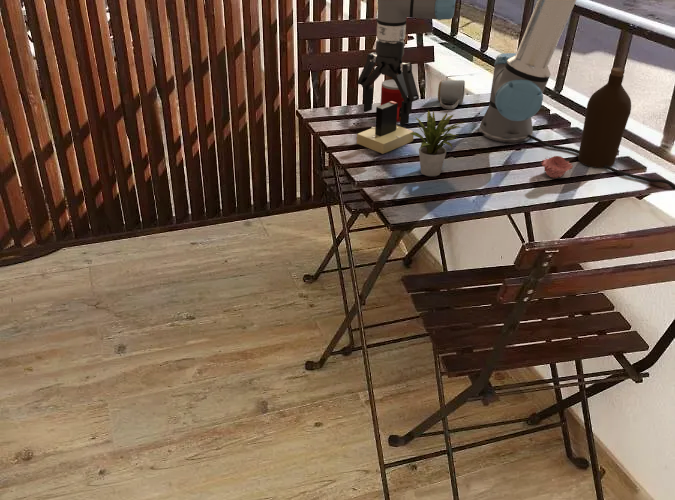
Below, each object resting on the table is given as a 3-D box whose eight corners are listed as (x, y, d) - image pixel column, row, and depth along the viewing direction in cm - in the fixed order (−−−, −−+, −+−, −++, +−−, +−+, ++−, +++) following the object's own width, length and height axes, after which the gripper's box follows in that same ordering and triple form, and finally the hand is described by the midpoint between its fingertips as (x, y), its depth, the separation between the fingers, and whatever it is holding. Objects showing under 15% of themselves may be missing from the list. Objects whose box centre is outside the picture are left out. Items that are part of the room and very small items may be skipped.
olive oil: (587, 170, 170) (610, 76, 157) (568, 154, 179) (587, 64, 166) (624, 167, 172) (649, 74, 159) (603, 151, 181) (625, 62, 167)
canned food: (404, 123, 197) (406, 88, 191) (378, 121, 198) (379, 86, 193) (407, 114, 204) (409, 80, 198) (381, 112, 205) (383, 78, 199)
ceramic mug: (438, 97, 217) (441, 75, 213) (463, 100, 215) (466, 77, 211) (435, 109, 208) (437, 86, 204) (460, 111, 207) (463, 88, 202)
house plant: (445, 191, 160) (452, 128, 151) (394, 178, 165) (398, 117, 156) (465, 169, 170) (473, 110, 161) (417, 158, 176) (421, 100, 167)
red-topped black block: (380, 136, 181) (382, 108, 176) (375, 134, 182) (376, 106, 178) (396, 130, 185) (397, 102, 180) (390, 128, 186) (391, 100, 181)
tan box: (383, 154, 178) (384, 143, 176) (355, 143, 184) (356, 132, 182) (414, 141, 186) (414, 131, 184) (386, 131, 192) (386, 121, 190)
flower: (552, 167, 172) (556, 148, 169) (576, 178, 166) (581, 158, 163) (531, 174, 168) (535, 154, 165) (556, 186, 162) (560, 166, 159)
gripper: (346, 32, 175) (344, 108, 186) (418, 52, 160) (411, 133, 171) (365, 28, 179) (362, 102, 190) (437, 47, 164) (429, 126, 176)
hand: (385, 117), depth 181 cm, fingers open, 13 cm apart
